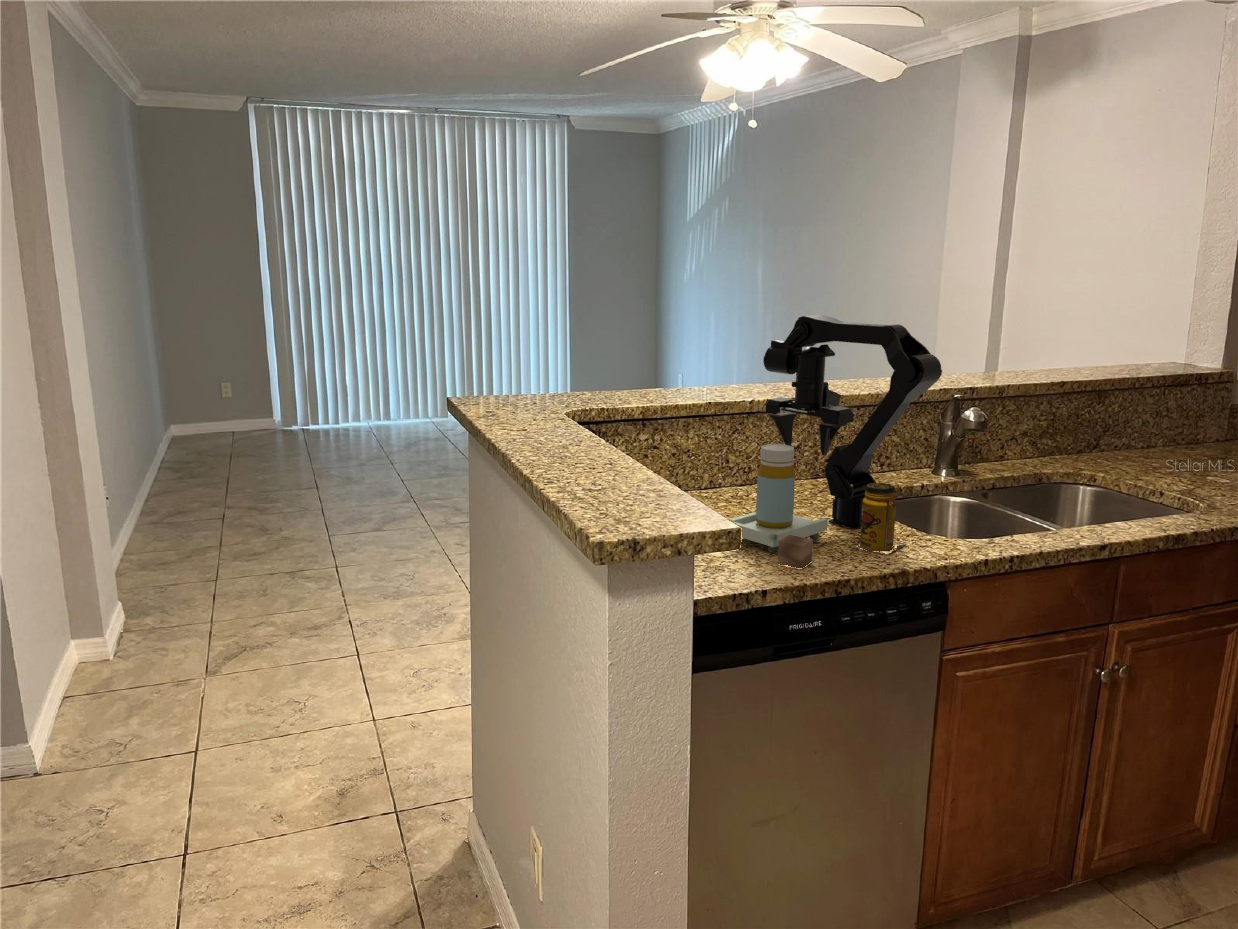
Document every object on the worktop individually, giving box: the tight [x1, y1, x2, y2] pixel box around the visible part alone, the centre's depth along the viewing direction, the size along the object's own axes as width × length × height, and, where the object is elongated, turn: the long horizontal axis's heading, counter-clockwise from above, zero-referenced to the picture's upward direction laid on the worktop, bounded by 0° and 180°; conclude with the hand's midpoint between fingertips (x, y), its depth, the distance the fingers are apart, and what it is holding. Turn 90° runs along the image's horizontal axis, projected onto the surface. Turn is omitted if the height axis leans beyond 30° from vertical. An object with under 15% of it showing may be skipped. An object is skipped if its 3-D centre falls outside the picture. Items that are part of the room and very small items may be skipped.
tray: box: [728, 511, 829, 554], centre depth 176 cm, size 12×16×4 cm
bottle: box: [755, 443, 796, 529], centre depth 175 cm, size 7×7×15 cm
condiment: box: [852, 482, 907, 556], centre depth 172 cm, size 7×8×12 cm
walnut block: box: [777, 535, 814, 568], centre depth 163 cm, size 4×4×4 cm
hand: (806, 451), depth 193 cm, fingers open, 9 cm apart
